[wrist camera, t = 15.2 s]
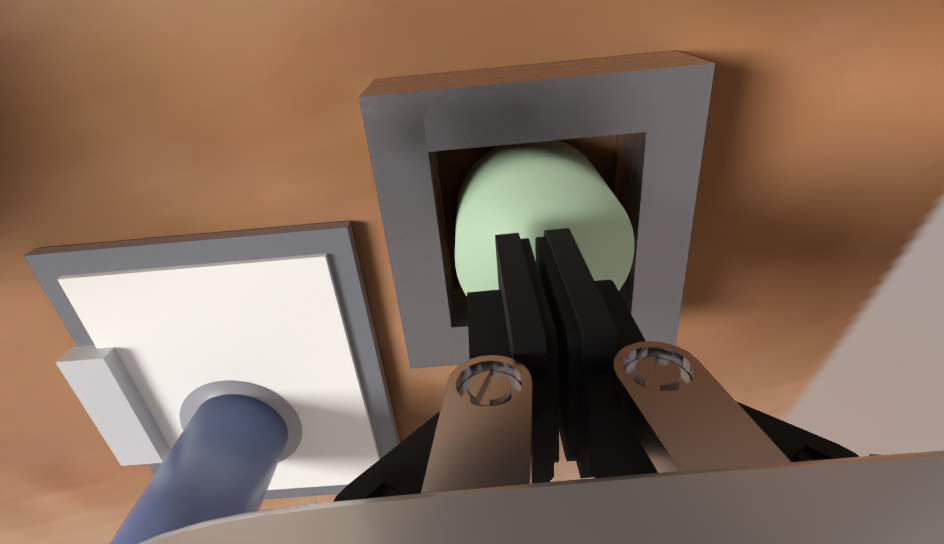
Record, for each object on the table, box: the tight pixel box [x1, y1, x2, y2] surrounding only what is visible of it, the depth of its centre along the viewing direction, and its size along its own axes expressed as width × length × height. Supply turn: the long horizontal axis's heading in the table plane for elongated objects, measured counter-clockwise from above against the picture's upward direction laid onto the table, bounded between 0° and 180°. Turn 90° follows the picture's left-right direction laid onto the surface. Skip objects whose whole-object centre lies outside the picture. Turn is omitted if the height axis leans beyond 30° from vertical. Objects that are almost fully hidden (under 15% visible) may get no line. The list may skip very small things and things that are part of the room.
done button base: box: [359, 51, 715, 368], centre depth 14 cm, size 8×8×2 cm
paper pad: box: [24, 221, 400, 499], centre depth 18 cm, size 12×10×1 cm
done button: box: [455, 140, 634, 296], centre depth 14 cm, size 4×4×3 cm
